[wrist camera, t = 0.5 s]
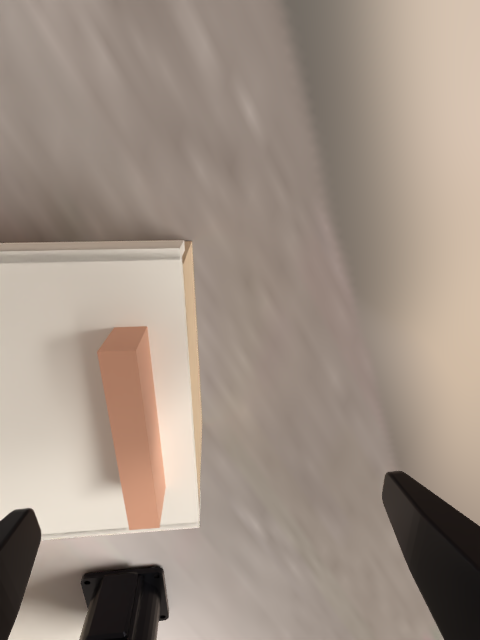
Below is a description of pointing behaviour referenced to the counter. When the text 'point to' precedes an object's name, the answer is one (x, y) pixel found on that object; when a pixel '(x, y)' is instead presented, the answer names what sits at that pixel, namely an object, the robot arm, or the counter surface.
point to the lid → (96, 388)
